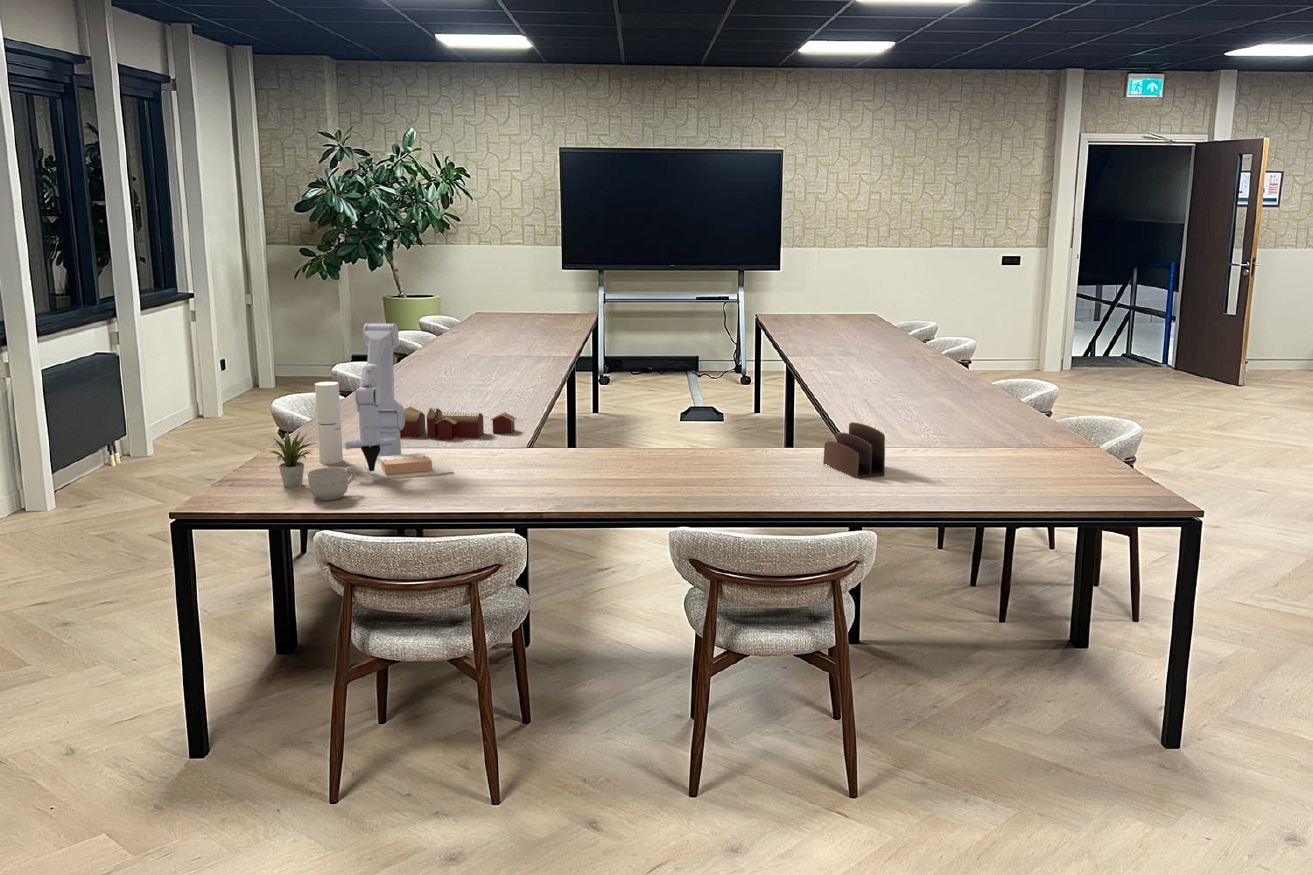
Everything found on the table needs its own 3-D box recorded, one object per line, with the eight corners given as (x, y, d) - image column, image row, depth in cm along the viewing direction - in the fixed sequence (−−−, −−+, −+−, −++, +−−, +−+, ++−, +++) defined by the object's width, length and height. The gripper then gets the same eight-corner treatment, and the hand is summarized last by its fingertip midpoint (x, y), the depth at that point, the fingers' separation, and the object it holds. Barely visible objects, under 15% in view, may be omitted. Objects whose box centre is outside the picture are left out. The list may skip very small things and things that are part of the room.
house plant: (302, 494, 321) (298, 437, 317) (257, 491, 324) (253, 435, 320) (326, 481, 335) (323, 427, 331) (283, 479, 337) (279, 425, 334)
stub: (382, 470, 346) (382, 460, 345) (428, 466, 351) (428, 456, 350) (385, 474, 340) (385, 464, 340) (432, 470, 346) (431, 460, 345)
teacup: (316, 505, 310) (315, 476, 308) (303, 496, 318) (301, 468, 317) (365, 497, 318) (364, 469, 316) (351, 489, 327) (349, 462, 325)
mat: (364, 466, 353) (364, 464, 353) (441, 459, 362) (441, 458, 362) (373, 480, 336) (373, 478, 336) (454, 473, 345) (454, 471, 345)
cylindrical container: (316, 460, 360) (311, 383, 355) (337, 457, 364) (333, 380, 359) (324, 464, 355) (319, 386, 349) (346, 461, 359) (342, 384, 353)
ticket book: (379, 466, 351) (379, 456, 351) (424, 462, 357) (424, 452, 356) (382, 470, 346) (382, 460, 345) (428, 466, 351) (428, 456, 351)
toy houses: (379, 439, 393) (378, 410, 391) (397, 427, 413) (396, 399, 411) (507, 441, 390) (506, 413, 387) (519, 429, 410) (518, 402, 407)
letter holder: (849, 462, 362) (851, 419, 359) (884, 476, 344) (887, 431, 341) (822, 465, 359) (824, 421, 356) (856, 479, 341) (858, 433, 338)
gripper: (346, 430, 332) (348, 475, 335) (396, 427, 338) (398, 471, 341) (343, 426, 339) (345, 470, 342) (392, 422, 344) (394, 466, 347)
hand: (371, 470), depth 341 cm, fingers closed
